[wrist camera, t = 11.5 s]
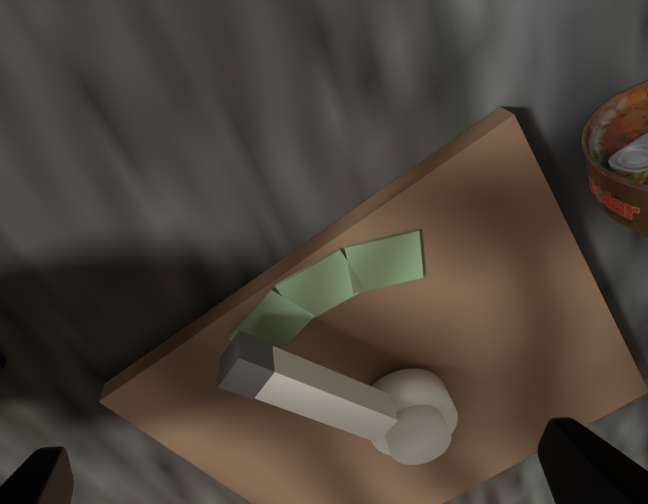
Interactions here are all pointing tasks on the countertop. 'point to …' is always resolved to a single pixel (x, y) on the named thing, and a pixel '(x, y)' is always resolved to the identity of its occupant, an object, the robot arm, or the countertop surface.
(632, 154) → the tin
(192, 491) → the countertop surface
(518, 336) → the brown board
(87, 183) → the countertop surface
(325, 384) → the peg
